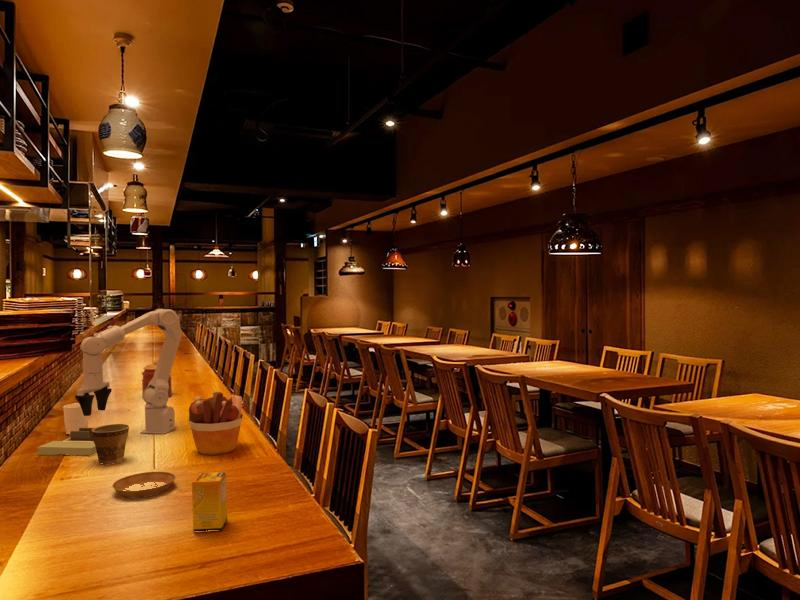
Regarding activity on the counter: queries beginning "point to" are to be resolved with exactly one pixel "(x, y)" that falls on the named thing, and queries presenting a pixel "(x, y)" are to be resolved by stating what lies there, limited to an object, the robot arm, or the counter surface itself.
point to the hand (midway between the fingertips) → (94, 412)
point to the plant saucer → (142, 479)
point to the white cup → (74, 418)
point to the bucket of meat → (215, 423)
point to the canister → (149, 375)
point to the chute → (81, 435)
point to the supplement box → (209, 501)
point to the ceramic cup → (110, 442)
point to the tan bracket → (68, 448)
